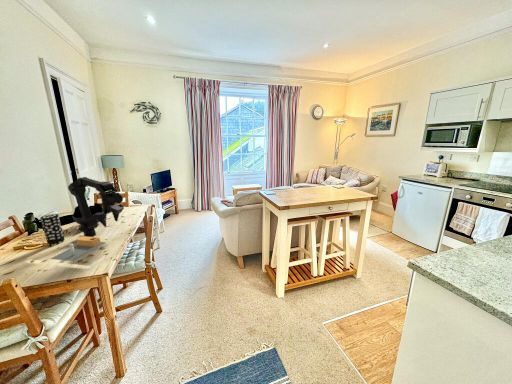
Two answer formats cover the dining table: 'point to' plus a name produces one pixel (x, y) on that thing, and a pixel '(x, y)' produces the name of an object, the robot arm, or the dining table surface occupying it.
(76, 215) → the coal bowl
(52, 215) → the spotted tube
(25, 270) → the dining table surface
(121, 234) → the dining table surface
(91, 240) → the orange rectangular block
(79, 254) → the keeper board
